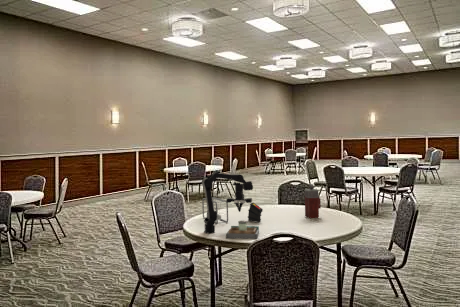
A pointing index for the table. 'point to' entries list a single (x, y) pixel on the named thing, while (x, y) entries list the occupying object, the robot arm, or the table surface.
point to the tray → (249, 231)
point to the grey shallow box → (242, 235)
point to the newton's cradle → (216, 209)
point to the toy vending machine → (312, 202)
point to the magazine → (254, 213)
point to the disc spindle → (242, 225)
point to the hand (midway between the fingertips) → (239, 211)
